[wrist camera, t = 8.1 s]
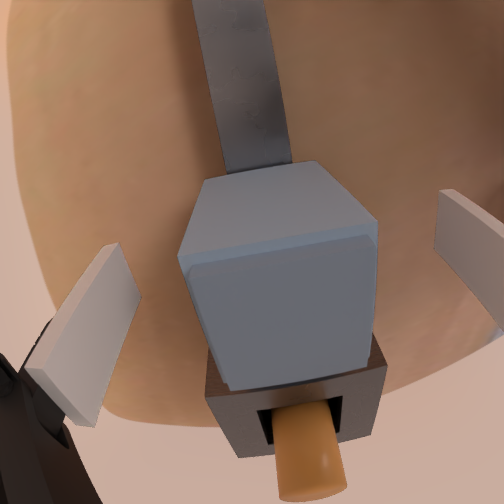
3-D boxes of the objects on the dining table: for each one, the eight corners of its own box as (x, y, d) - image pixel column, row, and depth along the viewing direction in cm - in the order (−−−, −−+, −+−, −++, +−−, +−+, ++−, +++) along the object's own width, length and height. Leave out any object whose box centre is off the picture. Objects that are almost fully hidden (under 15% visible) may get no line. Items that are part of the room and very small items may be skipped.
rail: (190, -21, 11) (184, -34, 9) (250, -31, 10) (251, -46, 9) (250, 271, 19) (252, 290, 17) (300, 262, 19) (306, 281, 17)
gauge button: (265, 382, 15) (275, 490, 10) (324, 372, 15) (350, 477, 9) (273, 411, 16) (282, 504, 11) (324, 402, 16) (344, 493, 11)
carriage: (204, 179, 14) (172, 269, 7) (315, 160, 13) (387, 232, 7) (227, 273, 16) (223, 397, 9) (324, 256, 16) (374, 369, 9)
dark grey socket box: (207, 292, 19) (195, 398, 12) (340, 268, 19) (387, 365, 12) (231, 364, 23) (231, 458, 16) (341, 345, 22) (370, 434, 15)
